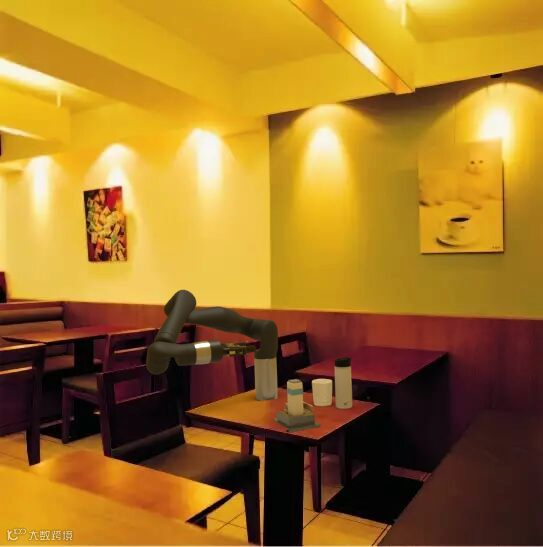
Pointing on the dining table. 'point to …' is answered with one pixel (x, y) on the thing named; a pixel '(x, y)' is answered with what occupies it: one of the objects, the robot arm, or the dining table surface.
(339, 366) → the travel mug
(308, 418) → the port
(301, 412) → the plug
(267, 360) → the robot arm
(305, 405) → the wooden square tray
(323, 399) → the white cup
